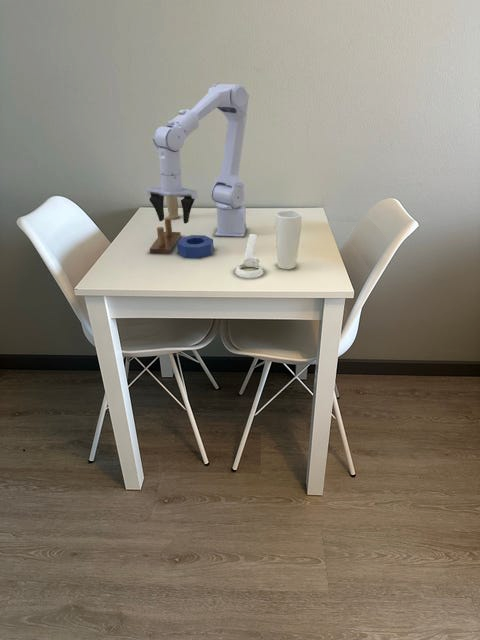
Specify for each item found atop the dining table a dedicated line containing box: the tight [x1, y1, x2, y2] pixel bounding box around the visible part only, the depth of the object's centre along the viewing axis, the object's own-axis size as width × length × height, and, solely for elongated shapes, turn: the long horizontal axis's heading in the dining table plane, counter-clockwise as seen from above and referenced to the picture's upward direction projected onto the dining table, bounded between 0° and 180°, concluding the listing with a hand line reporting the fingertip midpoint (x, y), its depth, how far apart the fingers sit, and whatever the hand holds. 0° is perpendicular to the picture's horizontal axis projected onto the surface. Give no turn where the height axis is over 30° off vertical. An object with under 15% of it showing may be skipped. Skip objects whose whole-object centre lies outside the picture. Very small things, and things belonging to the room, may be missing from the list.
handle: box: [166, 196, 179, 220], centre depth 166 cm, size 5×6×15 cm
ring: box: [176, 234, 214, 259], centre depth 140 cm, size 10×10×3 cm
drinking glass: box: [275, 209, 302, 270], centre depth 127 cm, size 7×7×15 cm
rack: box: [149, 216, 182, 255], centre depth 144 cm, size 6×15×7 cm, turn 173°
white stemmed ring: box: [234, 233, 264, 279], centre depth 127 cm, size 8×12×7 cm
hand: (173, 221), depth 136 cm, fingers open, 7 cm apart
